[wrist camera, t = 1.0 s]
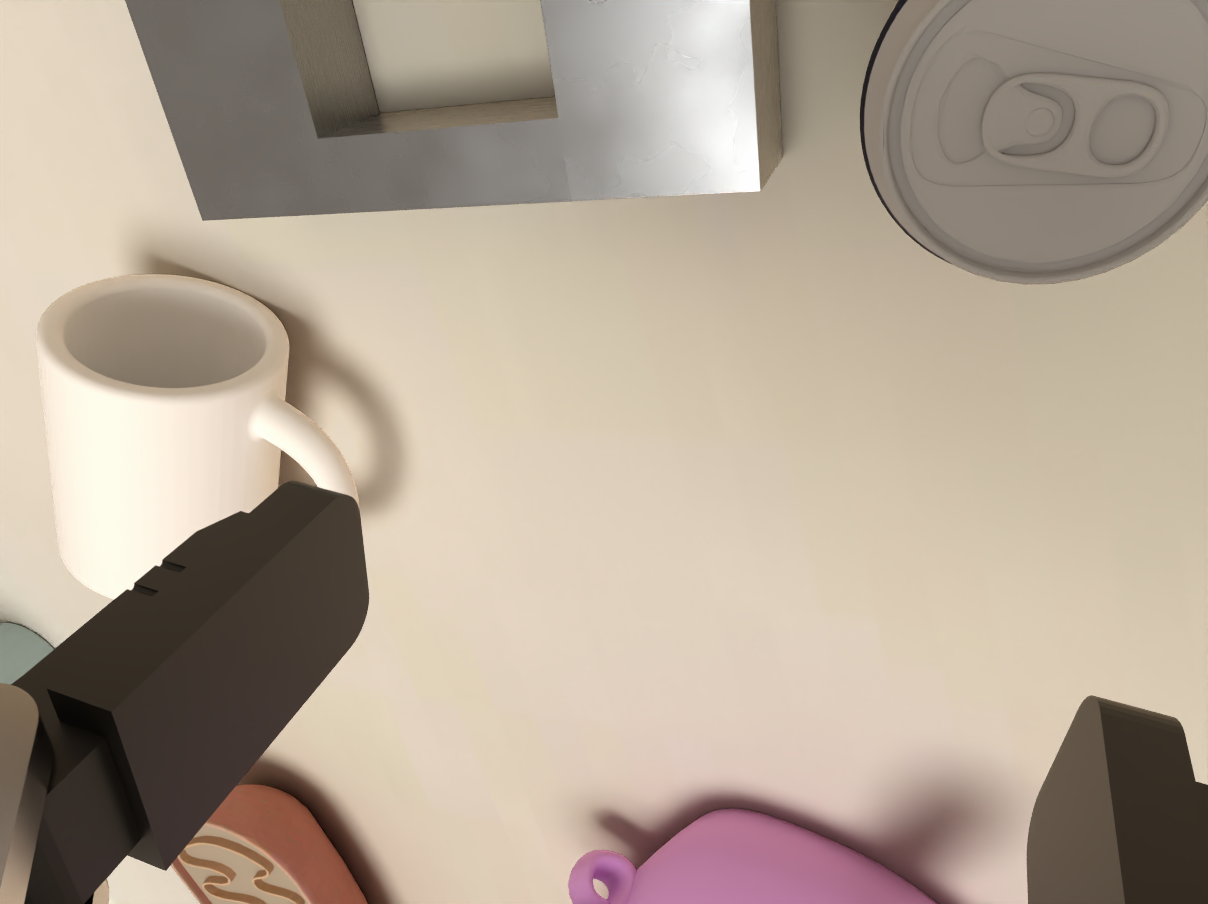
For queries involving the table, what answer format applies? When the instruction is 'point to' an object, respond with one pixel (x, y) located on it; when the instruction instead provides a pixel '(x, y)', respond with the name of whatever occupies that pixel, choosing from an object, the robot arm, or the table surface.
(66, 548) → the mug
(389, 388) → the table surface
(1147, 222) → the beverage can
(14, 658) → the cup
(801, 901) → the teapot
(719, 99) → the jig
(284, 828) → the anatomical model
